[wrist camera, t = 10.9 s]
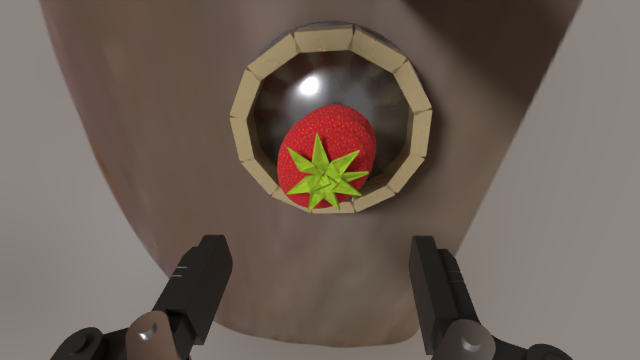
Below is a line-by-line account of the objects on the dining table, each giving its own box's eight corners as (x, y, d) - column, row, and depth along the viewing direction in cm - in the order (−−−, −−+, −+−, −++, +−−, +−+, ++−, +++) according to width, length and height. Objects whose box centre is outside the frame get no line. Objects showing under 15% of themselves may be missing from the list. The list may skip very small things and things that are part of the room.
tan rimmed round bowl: (221, 28, 22) (206, 34, 20) (436, 14, 20) (448, 18, 18) (258, 196, 30) (250, 215, 28) (414, 195, 28) (420, 214, 26)
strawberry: (274, 143, 26) (240, 222, 17) (322, 63, 22) (308, 116, 14) (334, 176, 27) (329, 265, 19) (388, 107, 23) (412, 180, 15)
